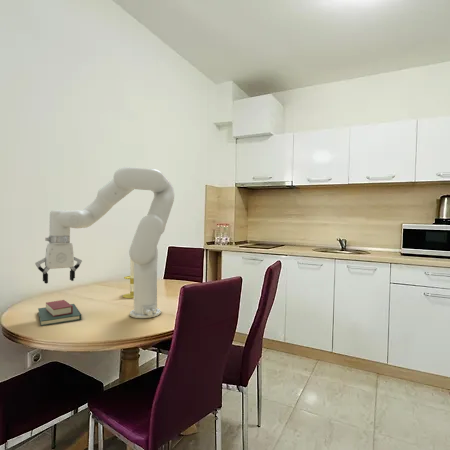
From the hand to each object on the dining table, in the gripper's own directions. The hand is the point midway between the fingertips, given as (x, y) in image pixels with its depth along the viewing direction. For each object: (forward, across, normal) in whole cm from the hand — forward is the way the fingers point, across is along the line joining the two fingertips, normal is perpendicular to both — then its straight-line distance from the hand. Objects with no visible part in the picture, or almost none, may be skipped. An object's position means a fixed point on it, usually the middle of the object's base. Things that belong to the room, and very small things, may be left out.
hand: (59, 281), depth 133 cm
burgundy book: (+12, 0, 0) cm, 12 cm away
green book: (+14, 0, 0) cm, 14 cm away
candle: (+14, +38, +13) cm, 43 cm away
